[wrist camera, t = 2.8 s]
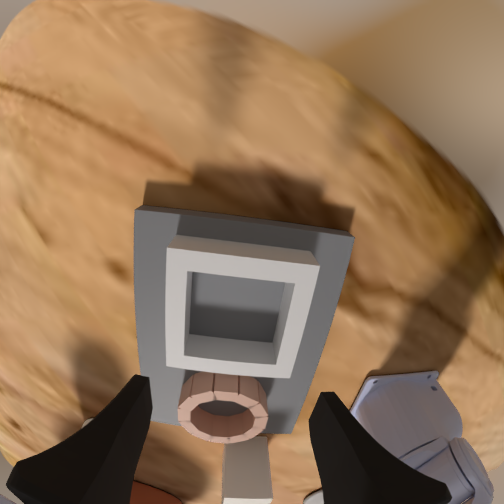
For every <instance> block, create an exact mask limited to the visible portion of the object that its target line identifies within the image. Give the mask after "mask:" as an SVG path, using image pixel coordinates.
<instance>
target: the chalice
mask: <svg viewBox="0 0 504 504" xmlns="http://www.w3.org/2000/svg"><path fill="white" fill-rule="evenodd" d="M303 504H324V500H323V491H322V490H320V491H317V492H315V493H313V494H311V495H309V496H308V497H307V498H305V499H304V501H303Z"/></svg>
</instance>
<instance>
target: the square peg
mask: <svg viewBox="0 0 504 504" xmlns="http://www.w3.org/2000/svg"><path fill="white" fill-rule="evenodd" d="M272 499H273V493H272V483H271V473H270V462H269V452H268V442H267V437H263V436H255V437H253V438H252V439H250V438H249V440H245V441H241V442H236V443H230V442H229V444H228V443H224V449H223V464H222V504H270V503H271V501H272Z"/></svg>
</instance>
